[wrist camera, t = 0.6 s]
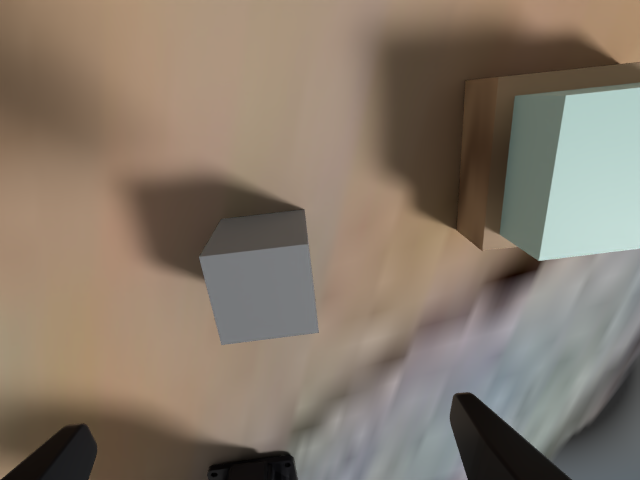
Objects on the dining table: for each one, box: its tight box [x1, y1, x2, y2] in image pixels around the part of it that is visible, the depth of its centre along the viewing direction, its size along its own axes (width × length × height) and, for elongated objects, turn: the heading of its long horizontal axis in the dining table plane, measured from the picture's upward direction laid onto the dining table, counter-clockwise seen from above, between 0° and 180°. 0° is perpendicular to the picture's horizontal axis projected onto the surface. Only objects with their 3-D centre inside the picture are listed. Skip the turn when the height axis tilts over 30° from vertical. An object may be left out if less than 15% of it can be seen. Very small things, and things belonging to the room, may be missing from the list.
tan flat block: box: [457, 62, 640, 251], centre depth 17 cm, size 8×8×3 cm
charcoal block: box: [199, 209, 319, 345], centre depth 18 cm, size 5×5×5 cm
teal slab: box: [499, 82, 640, 261], centre depth 15 cm, size 6×6×3 cm
